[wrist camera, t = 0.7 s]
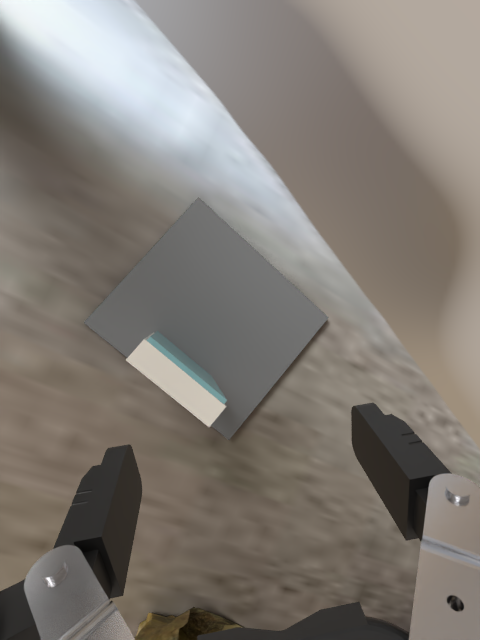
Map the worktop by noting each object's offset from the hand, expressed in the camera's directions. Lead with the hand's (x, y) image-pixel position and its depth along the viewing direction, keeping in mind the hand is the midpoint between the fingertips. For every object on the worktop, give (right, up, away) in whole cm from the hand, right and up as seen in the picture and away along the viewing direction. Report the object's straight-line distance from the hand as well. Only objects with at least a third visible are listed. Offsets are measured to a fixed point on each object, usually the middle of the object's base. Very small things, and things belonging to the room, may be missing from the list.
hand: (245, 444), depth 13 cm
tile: (-7, 0, +25) cm, 26 cm away
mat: (-3, +4, +27) cm, 27 cm away
